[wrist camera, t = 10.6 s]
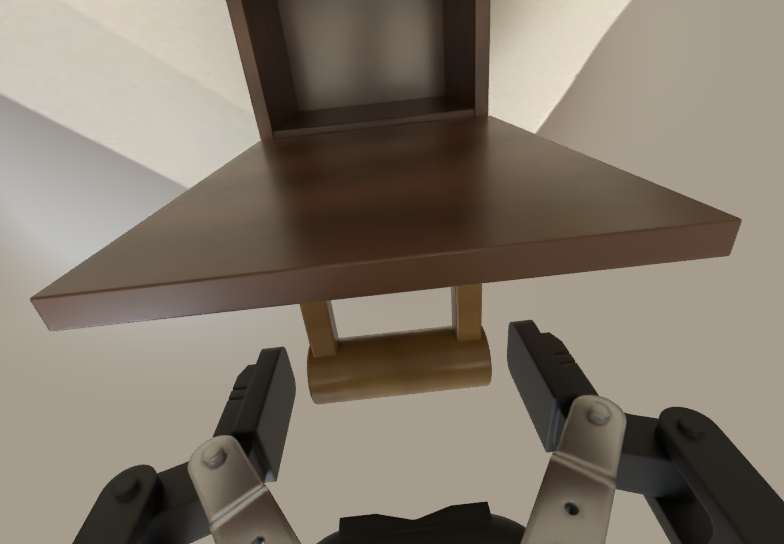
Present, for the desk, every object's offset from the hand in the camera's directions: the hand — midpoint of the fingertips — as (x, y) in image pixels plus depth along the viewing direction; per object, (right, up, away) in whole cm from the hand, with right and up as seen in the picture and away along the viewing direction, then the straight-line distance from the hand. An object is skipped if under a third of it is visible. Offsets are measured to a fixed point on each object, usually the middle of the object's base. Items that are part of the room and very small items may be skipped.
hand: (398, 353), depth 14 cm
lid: (-1, +7, +1) cm, 7 cm away
